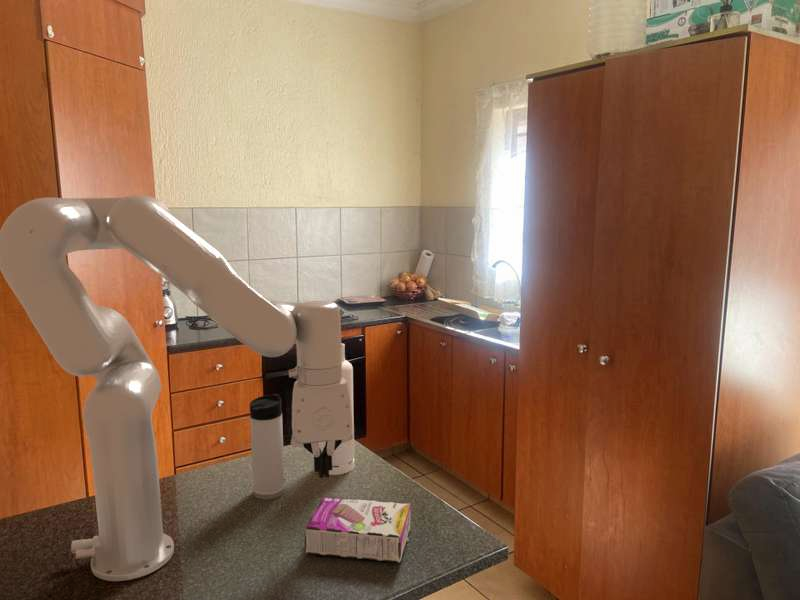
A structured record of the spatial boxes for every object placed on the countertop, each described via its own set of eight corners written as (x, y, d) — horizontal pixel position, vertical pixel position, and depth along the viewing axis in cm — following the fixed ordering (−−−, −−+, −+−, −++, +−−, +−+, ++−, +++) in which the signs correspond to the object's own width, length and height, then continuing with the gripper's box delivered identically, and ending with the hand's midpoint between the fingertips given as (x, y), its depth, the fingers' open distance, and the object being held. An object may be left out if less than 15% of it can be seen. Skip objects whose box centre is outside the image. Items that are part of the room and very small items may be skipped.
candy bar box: (323, 494, 107) (411, 502, 105) (323, 519, 108) (410, 527, 105) (303, 526, 96) (401, 536, 94) (304, 554, 97) (401, 564, 94)
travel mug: (292, 489, 120) (289, 396, 117) (269, 503, 115) (265, 406, 111) (270, 481, 123) (266, 391, 120) (247, 494, 118) (242, 400, 115)
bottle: (361, 469, 129) (359, 346, 125) (327, 478, 125) (324, 351, 120) (344, 455, 136) (342, 339, 131) (312, 464, 132) (308, 343, 127)
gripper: (276, 384, 94) (281, 490, 97) (367, 376, 98) (369, 478, 101) (274, 371, 101) (278, 470, 104) (358, 364, 105) (360, 460, 108)
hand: (323, 474), depth 102 cm, fingers closed
